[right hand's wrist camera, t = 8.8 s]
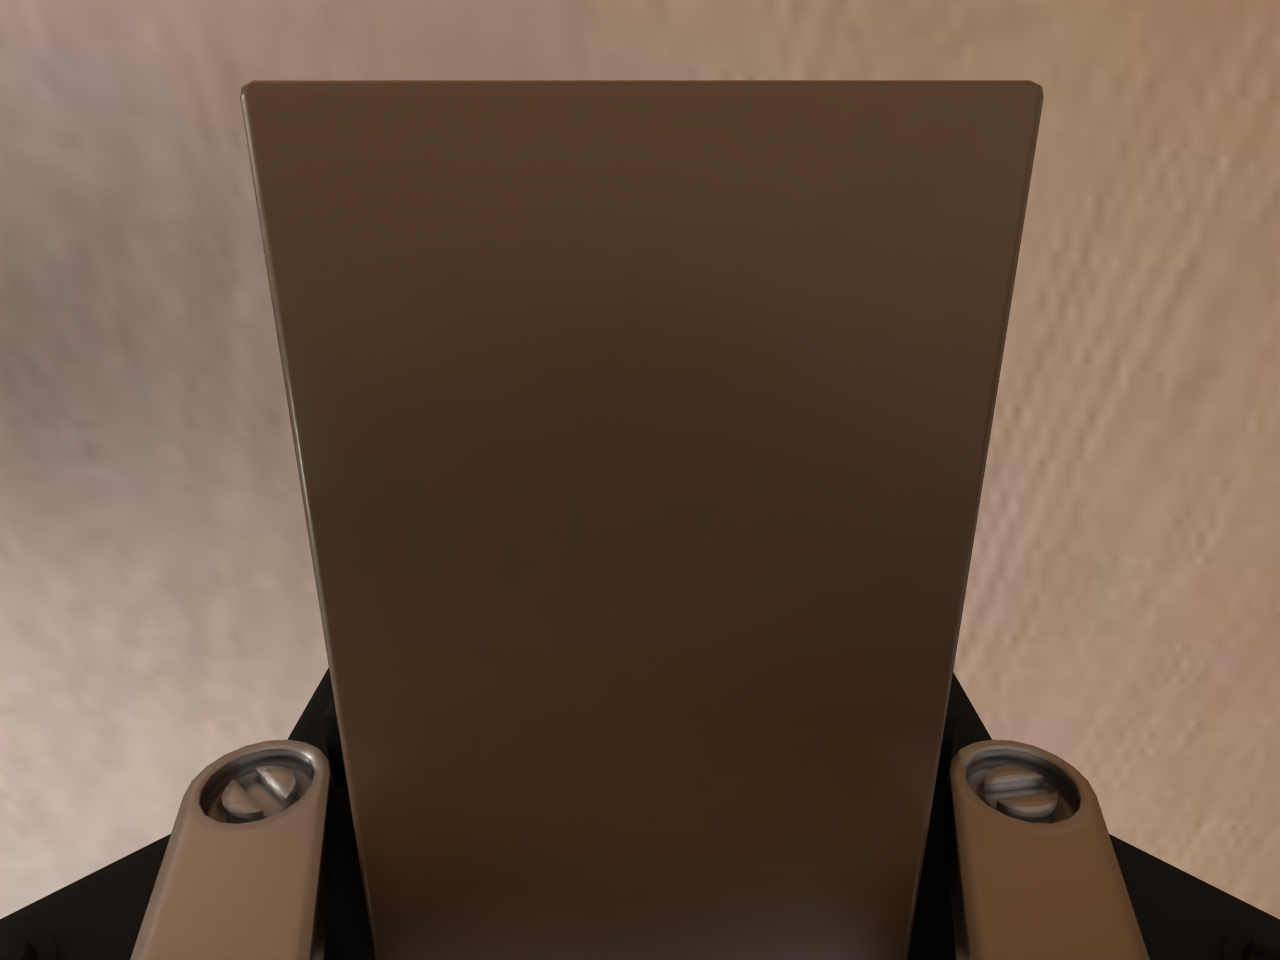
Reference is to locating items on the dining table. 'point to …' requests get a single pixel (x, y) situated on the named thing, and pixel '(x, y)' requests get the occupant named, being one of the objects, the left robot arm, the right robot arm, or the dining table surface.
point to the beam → (641, 490)
